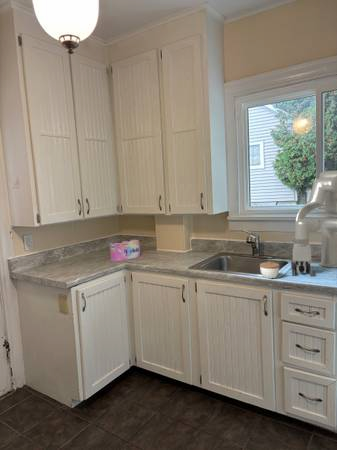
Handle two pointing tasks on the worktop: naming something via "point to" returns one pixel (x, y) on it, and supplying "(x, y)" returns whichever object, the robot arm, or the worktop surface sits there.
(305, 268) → the lock block
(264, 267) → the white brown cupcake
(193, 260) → the worktop surface
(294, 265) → the coupler socket
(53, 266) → the worktop surface
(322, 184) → the robot arm
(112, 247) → the gum box
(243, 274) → the worktop surface
